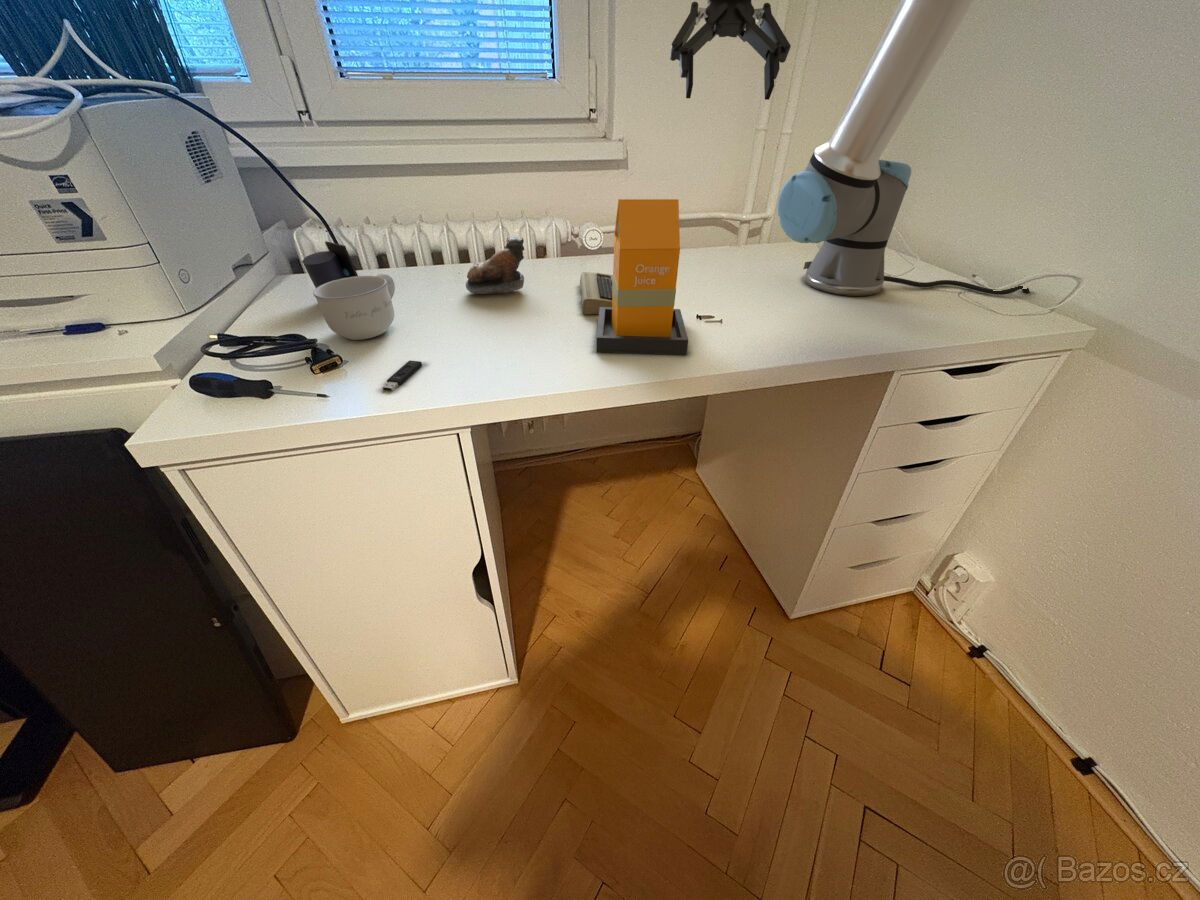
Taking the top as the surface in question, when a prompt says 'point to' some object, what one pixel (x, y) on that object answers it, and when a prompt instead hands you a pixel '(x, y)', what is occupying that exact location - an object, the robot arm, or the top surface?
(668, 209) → the orange juice
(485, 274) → the bison figurine
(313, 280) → the speaker
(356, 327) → the teacup
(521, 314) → the top surface
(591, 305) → the computer
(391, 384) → the usb flash drive
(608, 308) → the dark gray rectangular tray
